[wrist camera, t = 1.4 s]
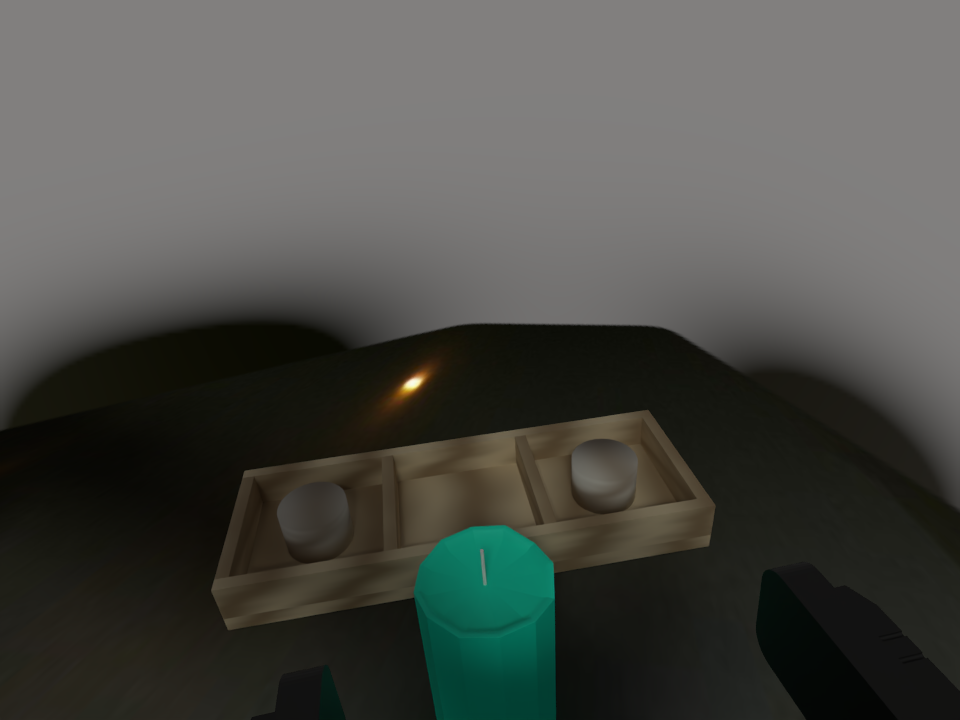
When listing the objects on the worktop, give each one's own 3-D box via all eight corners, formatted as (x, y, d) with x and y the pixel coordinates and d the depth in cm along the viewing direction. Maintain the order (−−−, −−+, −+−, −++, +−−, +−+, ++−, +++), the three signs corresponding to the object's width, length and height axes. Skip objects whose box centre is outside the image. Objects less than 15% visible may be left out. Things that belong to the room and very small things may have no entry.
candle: (493, 815, 27) (473, 645, 21) (415, 715, 31) (379, 549, 25) (583, 721, 30) (587, 551, 24) (501, 642, 34) (488, 480, 28)
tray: (228, 630, 36) (208, 584, 34) (256, 507, 45) (242, 465, 43) (708, 546, 39) (716, 499, 37) (645, 446, 48) (648, 404, 46)
